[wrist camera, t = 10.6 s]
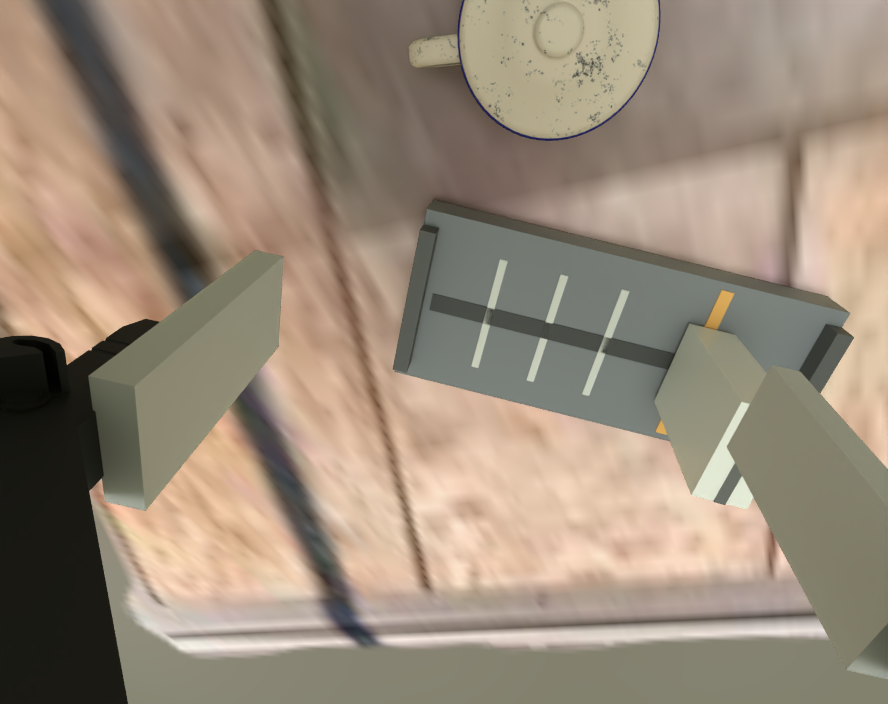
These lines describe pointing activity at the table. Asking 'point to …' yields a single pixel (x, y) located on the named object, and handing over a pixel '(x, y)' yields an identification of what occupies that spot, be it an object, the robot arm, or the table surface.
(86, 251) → the table surface
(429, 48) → the teacup with lid
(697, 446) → the fader handle
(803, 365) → the fader console
